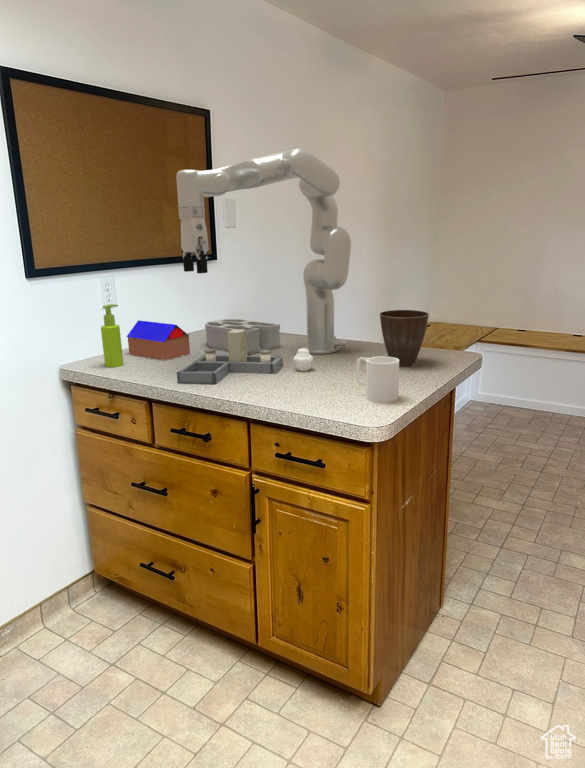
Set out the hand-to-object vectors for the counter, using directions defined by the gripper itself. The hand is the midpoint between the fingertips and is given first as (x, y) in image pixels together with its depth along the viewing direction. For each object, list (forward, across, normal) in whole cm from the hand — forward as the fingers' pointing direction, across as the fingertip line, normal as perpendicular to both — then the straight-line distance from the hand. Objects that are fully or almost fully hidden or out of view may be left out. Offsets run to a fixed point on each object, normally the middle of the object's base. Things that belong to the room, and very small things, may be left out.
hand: (195, 272), depth 180 cm
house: (+31, +30, +3) cm, 43 cm away
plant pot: (+30, -36, -53) cm, 71 cm away
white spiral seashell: (+30, -22, -24) cm, 45 cm away
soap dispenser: (+31, +24, +20) cm, 44 cm away
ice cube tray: (+31, +23, -26) cm, 46 cm away
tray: (+30, -11, +4) cm, 33 cm away
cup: (+30, -58, -23) cm, 69 cm away
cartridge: (+30, -14, -16) cm, 37 cm away
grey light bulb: (+30, -1, -3) cm, 30 cm away
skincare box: (+31, -8, -9) cm, 33 cm away
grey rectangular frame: (+30, -8, -9) cm, 32 cm away
